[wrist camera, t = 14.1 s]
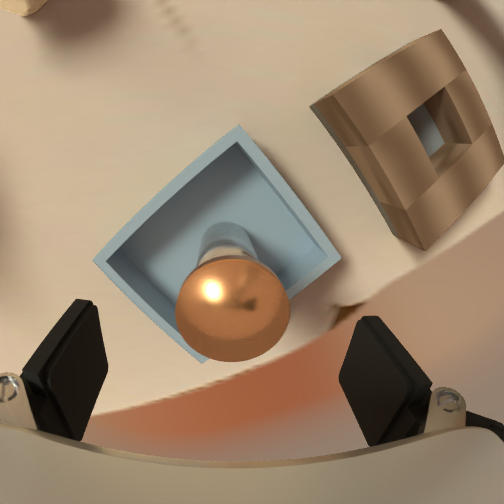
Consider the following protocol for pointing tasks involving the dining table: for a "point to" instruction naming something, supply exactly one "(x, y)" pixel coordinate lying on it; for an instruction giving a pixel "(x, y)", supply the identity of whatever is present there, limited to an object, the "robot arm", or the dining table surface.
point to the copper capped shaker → (231, 299)
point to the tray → (205, 215)
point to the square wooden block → (415, 136)
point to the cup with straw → (22, 6)
